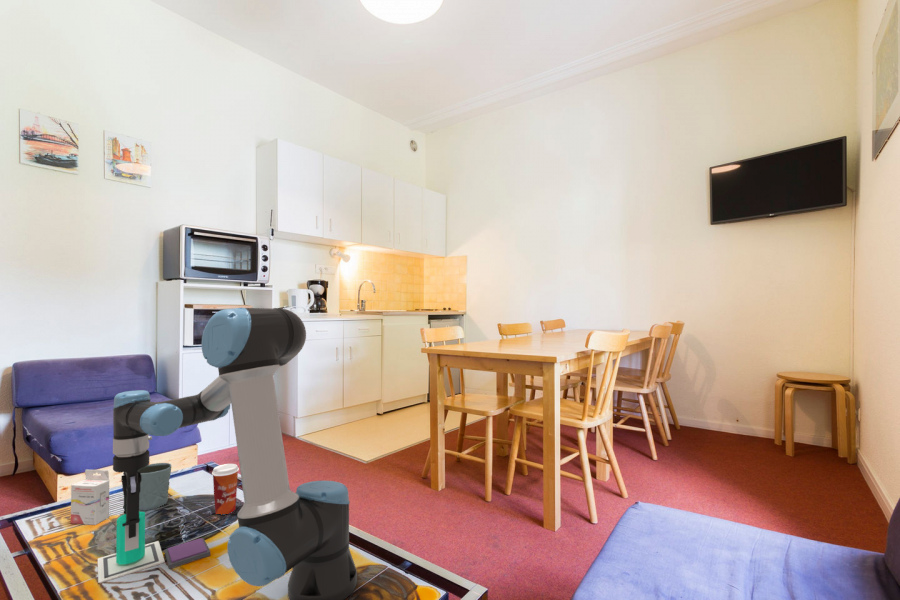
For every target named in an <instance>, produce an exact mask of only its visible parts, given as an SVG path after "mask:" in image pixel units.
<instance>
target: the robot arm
mask: <svg viewBox="0 0 900 600" xmlns="http://www.w3.org/2000/svg"><path fill="white" fill-rule="evenodd" d="M306 339H307V331H306V326H305V324H304V321H302V319H301V317H300V316H298V315H297V314H296V313H294V312H293V311H291V310H289V309H285V308H282V307H281V308H280V307H279V308H278V307H273V308H268V307H267V308H266V307H265V308H264V307H261V308H260V307H235V308H227V309H222V310H219V311H217V312H215V313H214V314H213V315H212V316H211V317H210V318H209V320H208V321H207V324H206V325H205V327H204V328H203V332H202V336H201V353H202V357H203V358H204V359H205V360H206V363H207V364H208V365H209V366H211V367H214V368H217V370H218V376H217V377H216V378H214V380H213V381H212V382H211V383H210V384H208V385H207V386H206V387H205V388H204V389H203V390H202V391H200V392H199V393H197V394H195V395H190V396H189V395H188V396H184V397H180V398H173V399H169V400H164V401H159V402H158V401H151V395H150V392H149V391H148V390H145V389H144V390H143V389H141V390H138V389H137V390H126V391H123V392H119V393H117V394H116V395H115V396H114V399H113V408H112V412H113V413H112V414H113V415H112V417H113V419H112V421H113V424H112V425H113V428H112V429H113V435H112V436H113V437H112V454H113V455H114V456H113V457H112V470H113V472H115V473H123V475H121V478H120V479H121V485H122V487H121V489H122V492H123V494H122V495H123V506H122V508H123V515H124V514H126V522H125V523H123V524H122V527H123V526H125V552H126V551H129V550H133V549H136V548H139V521H140V519H139V511H140V510H139V493H140V482H141V480H142V479H141V473H140V472H138V470H139V469H141V468H145V467H146V466H148V465H149V464H150V450H148V449H149V448H150V441H151V440H153V436H155V437H164V436H166V437H167V436H170V435H172V434H173V433H175V432H176V431H178V430H179V429H182V428H186V427H189V426H193V425H194V426H195V425H199V424H202V423H206V422H212V421H215V420H217V419H220V418H223V417H226V416H227V415H228V413H229V410H230V409H232V410H231V411H232V420H233V426H234V434H235V441H236V449H237V456H238V462H239V471H240V478H241V486H242V492H243V500H244V503H243V505H242V506H241V508H240V510H239V511H238V512H237V521H238V523H237V524H238V527H237V528H235V529H234V531H233V532H232V533H231V534H230V536H229V539H228V541H227V544H226V545H227V546H226V547H227V548H226V549H227V556H228V559H229V562H230V565H231V567H232V569H233V571H234V572H235V573H236V574H237V576H239V578H240V579H241V580H242V581H243V582H245V583H246V584H248V585H250V586H253V587H264V586H267V585H269V584H271V583H273V581H275V580H277V579H280V578H282V577H283V576H284V575H285V574H286V573H288V572H289V571H290V570H291V573H290V575H289V579H288V582H287V597H288V600H345V599H347V598H348V597H349V596H350V595H351V594H352V593H353V592H354V591H355V589H356V586H357V584H358V572H357V567H356V563H355V562H354V558H353V555H352V553H351V550H350V503H351V502H350V500H349V499H350V496H349V489H348V487H347V486H346V485H345V484H344V483H342V482H339V481H334V480H313V481H308V482H304V483H301V484H300V485H298V486H297V488H296V491H295V492H294V491H293V490H292V489H290V482H289V474H288V467H287V461H286V454H285V448H284V441H283V434H282V427H281V426H282V425H281V420H280V419H281V418H280V412H279V405H278V399H277V392H276V391H277V390H276V387H275V386H276V385H275V379H274V375H275V373H277V371H278V369H279V368H280V367H283V366H285V365H287V364H288V363H289V362H290V361H292V360H293V359H294V358H295V357H296V356H297V355H299V353H300V352H301V351H302V349H303V347H304V345H305V343H306Z"/></svg>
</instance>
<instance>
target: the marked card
mask: <svg viewBox="0 0 900 600" xmlns="http://www.w3.org/2000/svg"><path fill="white" fill-rule="evenodd" d="M165 563H166V562H165V556H164V555H163V551H162V547H161V545H160V541H159V540H156V541H154V542H150V543H147V544H146V543H145V556H143V557H142V558H141V559H139V560H137V561H135V562H132V563H129V564H118V563H116V552H115V553H112V554H109V555H106V556H101V557H98V558H97V583H100V584H103V583H106V582H109V581H112V580H115V579H118V578H121V577H124V576H128V575H131V574H134V573H137V572H140V571H143V570H147V569H149V568H153V567H156V566H159V565H161V564H165Z"/></svg>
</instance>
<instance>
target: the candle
mask: <svg viewBox="0 0 900 600" xmlns="http://www.w3.org/2000/svg"><path fill="white" fill-rule="evenodd" d="M139 519H140V521H139V548H136V549H133V550H129V551H126V552H125V526H123V527H122V524H123V523H125V522H126V514H124V513H123V514H122V515H120V516H119V517H118V518H117V519H116V540H115V541H116V544H115V545H116V547H115V551H116V552H115V553H116V563H118V564H129V563H132V562H135V561H137V560H139V559H141V558H142V557H143V556H145V545H146V511H141V510H139Z"/></svg>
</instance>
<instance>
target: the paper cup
mask: <svg viewBox="0 0 900 600" xmlns="http://www.w3.org/2000/svg"><path fill="white" fill-rule="evenodd" d="M239 471H240V467H239V466H238V465H237V464H236V463H225V464H220V465H217V466H215V467H214V468H213V470H212V472H211V475H212V478H213V479H212V480H213V482H212V483H213V496H214V497H213V499H214V500H213V501H214V510H215V511H214V512H215V515H216V514H221V515H222V514H229V513H231V512H233V511H234V510H235V511H236V509H237V508H236V507H237V506H236V505H237V495H238V494H237V493H238V492H237V491H238V490H237V489H238V475H239ZM235 511H234V512H235ZM234 512H233V513H234ZM231 514H232V513H231ZM229 515H230V514H229Z"/></svg>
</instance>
